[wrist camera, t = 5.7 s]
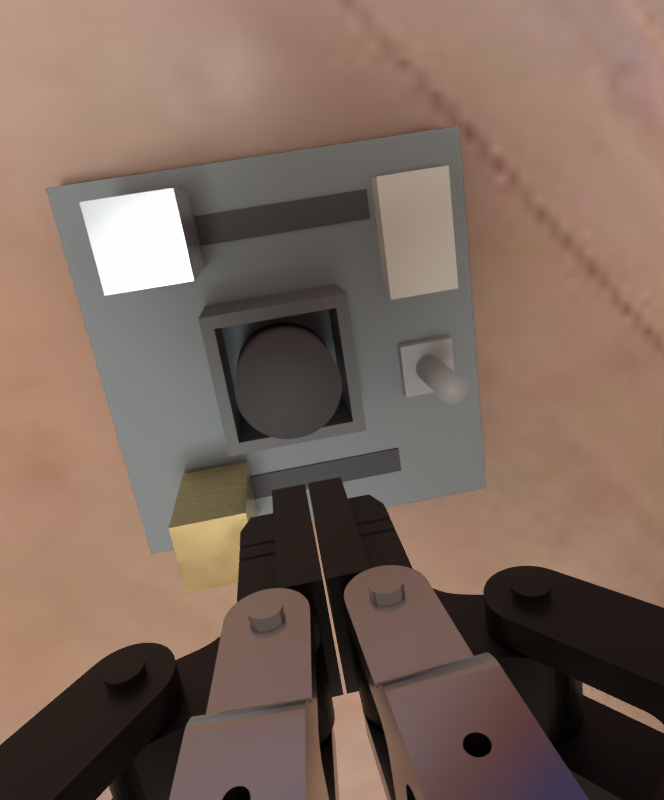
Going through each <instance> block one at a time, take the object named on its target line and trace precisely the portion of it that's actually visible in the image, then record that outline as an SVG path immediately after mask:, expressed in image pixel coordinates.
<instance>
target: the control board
mask: <svg viewBox="0 0 664 800" xmlns="http://www.w3.org/2000/svg"><path fill="white" fill-rule="evenodd" d="M168 188H176V189H179V190H182V191H185V192H188V193H189V194H190V199H191V203H192V208H193V212H194V217H195V222H196V226H197V231H198V236H199V240H200V245H201V250H202V254H203V259H204V263H205V269H204V270H203V271H202V272H201V274H200V275H199V276H198V277H197V278H196V279H195V280H194V281H190V282H184V283H177V284H171V285H165V286H159V287H153V288H147V289H141V290H135V291H129V292H123V293H117V294H111V295H104V291H103V287H102V284H101V280H100V276H99V273H98V269H97V265H96V262H95V258H94V254H93V251H92V247H91V243H90V240H89V236H88V232H87V229H86V225H85V221H84V218H83V214H82V210H81V207H80V203H79V202H84V201H90V200H97V199H103V198H110V197H116V196H123V195H129V194H136V193H142V192H149V191H155V190H162V189H168ZM46 191H47V194H48V198H49V201H50V205H51V208H52V212H53V215H54V219H55V222H56V226H57V229H58V232H59V236H60V239H61V243H62V246H63V250H64V253H65V257H66V260H67V264H68V267H69V271H70V274H71V277H72V281H73V284H74V288H75V291H76V295H77V298H78V302H79V305H80V309H81V312H82V316H83V319H84V322H85V326H86V329H87V333H88V336H89V340H90V343H91V347H92V350H93V354H94V357H95V361H96V364H97V367H98V371H99V374H100V378H101V381H102V385H103V388H104V392H105V395H106V399H107V402H108V406H109V409H110V412H111V416H112V419H113V423H114V426H115V430H116V433H117V437H118V440H119V444H120V447H121V450H122V454H123V457H124V461H125V464H126V468H127V471H128V475H129V478H130V482H131V485H132V489H133V492H134V495H135V499H136V502H137V506H138V509H139V513H140V516H141V520H142V523H143V527H144V530H145V534H146V537H147V540H148V544H149V547H150V551H151V554H156V553H161V552H166V551H171V550H174V547H173V543H172V539H171V536H170V532H169V524H170V521H171V517H172V513H173V510H174V506H175V502H176V498H177V495H178V491H179V487H180V484H181V480H182V476H183V474H184V473H190V472H195V471H200V470H205V469H211V468H216V467H221V466H226V465H232V464H237V463H242V462H247V463H248V468H249V472H250V477H251V482H252V486H253V491H254V496H255V500H256V505H257V510H258V514H259V516H261V515H266V514H271V513H273V503H272V490H276V489H281V488H286V487H291V486H296V485H302V484H305V487H306V493H307V498H308V504H309V509H310V515H311V520H312V522H315V521H314V515H313V510H312V504H311V499H310V493H309V487H308V483H312V482H317V481H322V480H327V479H332V478H338V477H341V479H342V482H343V486H344V489H345V492H346V495H347V498H353V497H358V496H363V495H368V494H369V495H371V496H372V497H374V498H375V499H377V500H378V501H380V502H382V503H383V504H384V506H385V508H386V507H391V506H396V505H401V504H406V503H411V502H416V501H421V500H426V499H431V498H436V497H441V496H446V495H451V494H456V493H461V492H466V491H471V490H476V489H481V488H486V481H485V467H484V453H483V440H482V426H481V412H480V399H479V385H478V371H477V358H476V344H475V330H474V317H473V303H472V289H471V276H470V262H469V248H468V235H467V221H466V207H465V194H464V180H463V166H462V153H461V139H460V126H455V127H448V128H441V129H435V130H428V131H422V132H415V133H408V134H402V135H395V136H389V137H382V138H375V139H369V140H362V141H355V142H349V143H342V144H336V145H329V146H322V147H316V148H309V149H303V150H296V151H289V152H283V153H276V154H269V155H263V156H256V157H250V158H243V159H236V160H230V161H223V162H217V163H210V164H203V165H197V166H190V167H183V168H177V169H170V170H164V171H157V172H150V173H144V174H137V175H131V176H124V177H117V178H111V179H104V180H97V181H91V182H84V183H78V184H71V185H64V186H58V187H51V188H46ZM278 322H291V323H296V324H300V325H303V326H305V327H307V328H309V329H310V330H312V331H313V332H315V333H316V334H317V335H318V336H319V337H320V338H321V339H322V340H323V342H324V343H325V345H326V347H327V348H328V350H329V352H330V354H331V356H332V357H333V359H334V361H335V363H336V365H337V367H338V369H339V372H340V376H341V381H342V393H341V399H340V402H339V405H338V407H337V409H336V411H335V413H334V415H333V416H332V418H331V419H330V420H329V421H328V422H327V423H326V424H325V425H324V426H323V427H322V428H320V429H319V430H317V431H316V432H314V433H312V434H310V435H307V436H305V437H301V438H296V439H279V438H274V437H270V436H268V435H265V434H263V433H261V432H259V431H258V430H256V429H255V428H254V427H252V426H251V425H250V424H249V423H248V422H247V421H246V419H245V418H244V417H243V415H242V414H241V412H240V410H239V407H238V405H237V402H236V398H235V378H236V369H237V361H238V356H239V353H240V351H241V348H242V347H243V345H244V343H245V342H246V341H247V339H248V338H249V337H250V336H251V335H252V334H253V333H254V332H256V331H257V330H259V329H260V328H262V327H264V326H267V325H269V324H273V323H278Z"/></svg>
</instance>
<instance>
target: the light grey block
mask: <svg viewBox="0 0 664 800" xmlns="http://www.w3.org/2000/svg"><path fill="white" fill-rule="evenodd" d="M79 203H80V207H81V210H82V214H83V218H84V221H85V225H86V229H87V232H88V236H89V240H90V243H91V247H92V251H93V254H94V258H95V262H96V265H97V269H98V273H99V276H100V280H101V284H102V287H103V291H104V295H111V294H117V293H123V292H129V291H135V290H141V289H147V288H153V287H159V286H165V285H171V284H177V283H184V282H190V281H194V280H195V279H196V278H197V277H198V276H199V275H200V274H201V272H202V271H203V270H204V269H205V263H204V259H203V254H202V250H201V245H200V240H199V236H198V231H197V226H196V222H195V217H194V212H193V208H192V203H191V199H190V194H189V193H188V192H185V191H182V190H179V189H176V188H168V189H162V190H155V191H149V192H142V193H136V194H129V195H123V196H116V197H110V198H103V199H97V200H90V201H84V202H79Z"/></svg>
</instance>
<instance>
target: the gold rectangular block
mask: <svg viewBox="0 0 664 800" xmlns="http://www.w3.org/2000/svg"><path fill="white" fill-rule="evenodd" d="M256 516H259V514H258V510H257V505H256V500H255V496H254V491H253V486H252V482H251V477H250V472H249V468H248V463H247V462H242V463H237V464H232V465H226V466H221V467H216V468H211V469H205V470H200V471H195V472H190V473H184V474H183V476H182V480H181V484H180V487H179V491H178V495H177V498H176V502H175V506H174V510H173V513H172V517H171V521H170V524H169V532H170V536H171V539H172V543H173V547H174V550H175V554H176V558H177V561H178V565H179V569H180V572H181V576H182V580H183V583H184V587H185V591H186V593H190V592H195V591H199V590H204V589H209V588H214V587H219V586H224V585H229V584H233V583H238V572H239V562H240V561H239V551H240V532H241V531H242V529H243V528H244V526H245V525H246V524H247V522H248V521H249V519H250V518H251V517H256Z"/></svg>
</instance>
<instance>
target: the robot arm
mask: <svg viewBox="0 0 664 800" xmlns="http://www.w3.org/2000/svg"><path fill="white" fill-rule="evenodd" d="M308 487H309V493H310V499H311V504H312V510H313V515H314V521H315V526H316V532H317V538H318V543H319V549H320V554H321V560H322V565H323V571H324V576H325V581H326V586H327V591H328V597H329V602H330V607H331V612H332V617H333V623H334V628H335V633H336V638H337V643H338V649H339V654H340V659H341V664H342V669H343V675H344V680H345V685H346V690H347V693H352V692H356V691H359V693H360V698H361V703H362V707H363V713H364V719H365V725H366V731H367V735H368V738H369V742H370V745H371V748H372V751H373V755H374V758H375V761H376V764H377V767H378V771H379V774H380V777H381V780H382V784H383V787H384V790H385V793H386V796H387V800H664V733H662V732H660V731H657V730H655V729H653V728H651V727H649V726H647V725H645V724H643V723H641V722H639V721H636V720H634V719H632V718H630V717H628V716H626V715H624V714H622V713H620V712H618V711H615V710H613V709H611V708H609V707H607V706H605V705H603V704H601V703H599V702H597V701H594V700H592V699H590V698H588V697H586V696H584V695H583V690H582V682H583V683H585V684H587V685H589V686H592V687H594V688H596V689H598V690H600V691H602V692H605V693H607V694H609V695H611V696H613V697H616V698H618V699H620V700H622V701H624V702H626V703H629V704H631V705H633V706H635V707H637V708H639V709H642V710H644V711H646V712H648V713H650V714H651V715H653V716H654V717H656V718H657V719H658V720H660V721H661V722H662V723H663V724H664V608H662V607H659V606H656V605H653V604H650V603H647V602H644V601H642V600H639V599H636V598H633V597H630V596H627V595H624V594H621V593H618V592H615V591H612V590H609V589H606V588H603V587H600V586H597V585H594V584H591V583H589V582H586V581H583V580H580V579H577V578H574V577H571V576H568V575H565V574H562V573H559V572H556V571H553V570H550V569H546V568H542V567H535V566H518V567H512V568H508V569H505V570H502V571H500V572H498V573H496V574H494V575H493V576H492V577H491V578H490V579H489V580H488V581H487V582H486V585H485V587H484V595H462V594H451V593H445V592H442V591H438V590H436V589H433V588H432V587H431V585H430V584H429V582H428V580H427V579H426V578H425V577H424V576H423V575H422V574H421V573H420V572H418V571H416V570H414V569H413V568H412V566H411V564H410V562H409V559H408V557H407V555H406V553H405V550H404V548H403V546H402V544H401V542H400V539H399V537H398V535H397V533H396V531H395V528H394V526H393V524H392V521H391V520H390V517H389V515H388V512H387V510H386V508H385V506H384V504H383V503H382V502H380V501H378V500H377V499H375V498H374V497H372V496H371V495H369V494H368V495H363V496H358V497H353V498H347V495H346V492H345V489H344V486H343V482H342V479H341V477H338V478H332V479H327V480H322V481H317V482H312V483H308ZM272 503H273V513H271V514H266V515H261V516H256V517H251V518H250V519H249V521H248V522H247V524H246V525H245V526H244V528H243V529H242V531H241V532H240V551H239V561H240V562H239V572H238V593H237V603H236V604H235V605H234V606H233V607H232V608H231V609H230V610H229V611H228V613H227V614H226V616H225V619H224V622H223V626H222V632H221V636H220V637H219V638H217V639H216V640H215V641H213V642H212V643H210V644H209V645H207V646H205V647H203V648H201V649H199V650H197V651H195V652H193V653H191V654H188V655H186V656H184V657H182V658H180V659H177V660H175V657H174V655H173V653H172V652H171V650H169V649H168V648H167V647H165V646H163V645H161V644H157V643H140V644H134V645H131V646H127V647H125V648H122V649H119V650H117V651H115V652H113V653H111V654H110V655H108V656H106V657H105V658H103V659H102V660H101V661H99V662H98V663H97V664H95V665H94V666H93V667H92V668H91V669H89V670H88V671H87V672H86V673H85V674H84V675H82V676H81V677H80V678H79V679H78V680H76V681H75V682H74V683H73V684H72V685H71V686H69V687H68V688H67V689H66V690H65V691H64V692H62V693H61V694H60V695H59V696H58V697H56V698H55V699H54V700H53V701H52V702H51V703H49V704H48V705H47V706H46V707H45V708H43V709H42V710H41V711H40V712H39V713H38V714H36V715H35V716H34V717H33V718H32V719H30V720H29V721H28V722H27V723H26V724H25V725H23V726H22V727H21V728H20V729H19V730H18V731H16V732H15V733H14V734H13V735H12V736H10V737H9V738H8V739H7V740H6V741H5V742H3V743H2V744H1V745H0V800H96V799H97V798H98V797H99V796H100V795H101V794H102V792H103V791H104V790H105V789H106V788H107V787H108V786H109V788H110V791H111V793H112V796H113V798H112V800H339V788H338V773H337V757H336V742H335V736H334V731H333V725H334V719H335V717H334V708H333V702H332V697H335V696H339V695H343V690H342V685H341V679H340V673H339V668H338V662H337V657H336V651H335V646H334V640H333V635H332V629H331V624H330V618H329V613H328V607H327V602H326V596H325V590H324V585H323V579H322V574H321V569H320V563H319V558H318V552H317V547H316V542H315V536H314V531H313V525H312V520H311V515H310V509H309V504H308V498H307V493H306V487H305V484H302V485H296V486H291V487H286V488H281V489H276V490H272Z"/></svg>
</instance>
